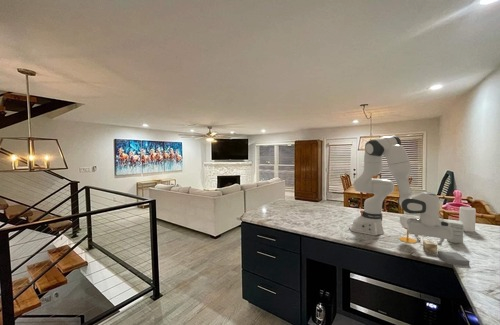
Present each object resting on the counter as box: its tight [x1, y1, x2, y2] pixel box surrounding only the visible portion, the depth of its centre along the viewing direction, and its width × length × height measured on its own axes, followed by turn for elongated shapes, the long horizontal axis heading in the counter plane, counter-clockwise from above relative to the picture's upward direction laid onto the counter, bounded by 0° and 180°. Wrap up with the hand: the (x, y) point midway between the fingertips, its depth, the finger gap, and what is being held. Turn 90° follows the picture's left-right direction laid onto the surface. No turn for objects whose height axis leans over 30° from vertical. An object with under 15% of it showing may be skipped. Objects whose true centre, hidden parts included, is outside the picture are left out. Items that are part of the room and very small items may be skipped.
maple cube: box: [422, 239, 438, 254], centre depth 123 cm, size 5×5×5 cm
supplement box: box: [446, 218, 464, 245], centre depth 135 cm, size 7×7×13 cm
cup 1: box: [398, 214, 417, 244], centre depth 137 cm, size 9×9×16 cm
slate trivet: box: [436, 250, 470, 267], centre depth 112 cm, size 9×9×3 cm
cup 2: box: [458, 206, 477, 232], centre depth 152 cm, size 8×8×16 cm
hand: (428, 243), depth 121 cm, fingers open, 8 cm apart
